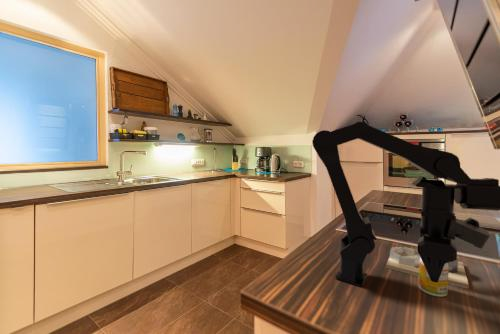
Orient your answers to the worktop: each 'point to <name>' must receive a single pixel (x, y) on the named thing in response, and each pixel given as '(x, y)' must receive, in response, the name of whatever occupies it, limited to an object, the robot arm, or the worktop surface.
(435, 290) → the supplement bottle
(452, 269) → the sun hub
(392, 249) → the socket collar
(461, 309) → the worktop surface
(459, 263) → the carrier plate
